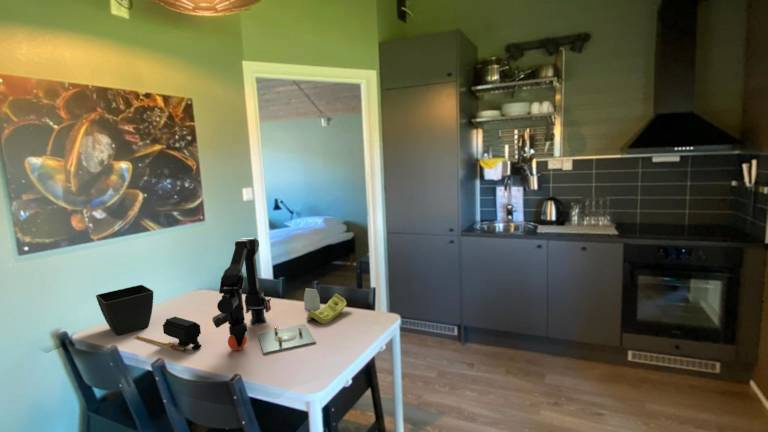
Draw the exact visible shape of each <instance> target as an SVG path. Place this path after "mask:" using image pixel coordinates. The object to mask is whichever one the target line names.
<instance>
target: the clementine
mask: <svg viewBox="0 0 768 432" xmlns="http://www.w3.org/2000/svg"><path fill="white" fill-rule="evenodd" d="M246 334H247V335H249V334H248V332H246ZM247 340H248V339H247V336H246V335H245V336H244V339H243V342H242V345H241V346H240V347H238V345H237V342H236V339H235V336H234V335H230V334H229V336H228V338H227V344H228V347H229V348H230V349H231V350H234V351H239V350H242V349H243V348H245V346H246V345H247Z"/></svg>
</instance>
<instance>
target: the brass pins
mask: <svg viewBox="0 0 768 432" xmlns="http://www.w3.org/2000/svg"><path fill="white" fill-rule="evenodd" d="M298 328H299V335H302V328H301V327H298ZM277 329H278V326H275V327H274V328H273V330H275V335H277V334H278V330H277ZM278 340H279V344H282V338H281V336H278Z"/></svg>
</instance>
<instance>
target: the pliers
mask: <svg viewBox="0 0 768 432" xmlns="http://www.w3.org/2000/svg"><path fill="white" fill-rule="evenodd" d="M265 298H266V300H267V301H268V308H266V309H265V310H264V312H269V311H270V310H271V308H272V307H271V304H270V303H271V301H270V300H271V299H272V296H269V297H266V296H265ZM249 312H251V310H248V311H247V310H246V309H245V313H249Z"/></svg>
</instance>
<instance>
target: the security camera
mask: <svg viewBox="0 0 768 432" xmlns="http://www.w3.org/2000/svg"><path fill="white" fill-rule="evenodd" d="M162 331H163V334H164V335H166V336H167V337H171V338H174V339H176V340H178V342H177V345H178V346H180V347H183V348H186V347H187V346H190V345H192V347H191V350H193V351H197V350H200V349H201V348H202V344H200V341H199V340H198V338H199V337H200V335H201V334H202V333H201V332H202V331H201V324H199V323H197V322H196V321H192V320H190V319H189V320H188V319H185V318H181V317H178V316H172V317H169V318H167V319H165V321H164V323H163V324H162Z"/></svg>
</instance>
